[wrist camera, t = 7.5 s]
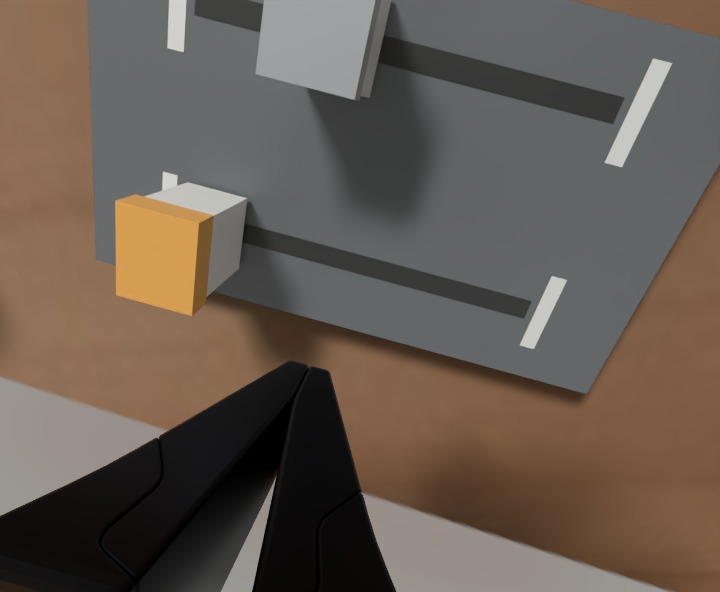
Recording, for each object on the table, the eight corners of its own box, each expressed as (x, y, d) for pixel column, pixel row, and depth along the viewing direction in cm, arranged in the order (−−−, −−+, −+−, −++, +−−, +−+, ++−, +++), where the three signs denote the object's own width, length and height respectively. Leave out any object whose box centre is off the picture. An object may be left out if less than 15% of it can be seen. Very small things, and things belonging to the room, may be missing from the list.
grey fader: (396, -9, 13) (386, -56, 9) (371, 101, 15) (354, 100, 11) (315, -30, 13) (273, -84, 9) (298, 82, 15) (255, 73, 11)
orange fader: (250, 196, 16) (198, 223, 13) (240, 271, 18) (191, 315, 14) (185, 179, 17) (115, 200, 13) (181, 255, 18) (116, 295, 14)
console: (738, 61, 15) (783, 54, 13) (571, 368, 20) (586, 394, 18) (124, -96, 15) (83, -124, 13) (124, 246, 21) (95, 259, 19)
